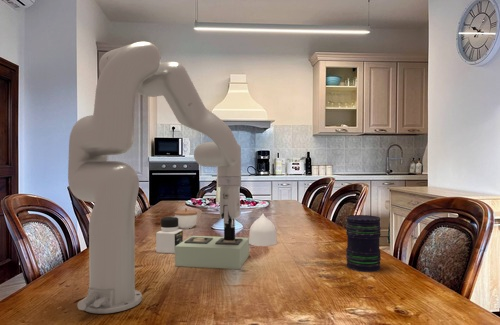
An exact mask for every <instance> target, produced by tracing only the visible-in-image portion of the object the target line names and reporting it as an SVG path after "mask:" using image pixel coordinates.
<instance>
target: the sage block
mask: <svg viewBox="0 0 500 325" xmlns="http://www.w3.org/2000/svg"><path fill="white" fill-rule="evenodd" d="M195 238H204V239H205V241H204V242H203V241H193V239H195ZM234 240H235V243H231V242H224V236H211V235H210V236H209V235H208V236H206V235H191V236H190V237H188V238H186V239H183V242H181V243H180V244H178V245H176V246H175V253H174V266H175V267H185V268H187V267H189V268H205V269H207V268H209V269H228V270H229V269H231V270H241V268H242V266H244V263H246V261H247V260H248V258H249V256H250V244H249V237H244V236H243V237H242V236H241V237H239V236H238V237H237V236H235V239H234Z"/></svg>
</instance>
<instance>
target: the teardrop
mask: <svg viewBox="0 0 500 325" xmlns="http://www.w3.org/2000/svg"><path fill="white" fill-rule="evenodd" d="M277 234H278V233H277V230H276V227H275V225H274V223H273V222H272V221H271V220H270V219H269V218H268V217H266V216H265V214H264V212H262V214H261V215H260V216H259V217H258V218H257V219H256V220H254V222H252V225H251V226H250V228H249V235H248V238H249V245H251V246H256V247H270V246H276V245H277V244H278V241H277V240H278V236H277Z"/></svg>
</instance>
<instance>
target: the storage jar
mask: <svg viewBox="0 0 500 325" xmlns="http://www.w3.org/2000/svg"><path fill="white" fill-rule="evenodd" d="M345 227H346V228H345V229H346V232H345V234H346V236H347V238H346V239H347V242H346V243H347V244H346V246H347V247H346V250H345V258H346V268H347V269H348V270H352V271H355V272H361V273H374V272H375V273H376V272H379V271H380V270H381V261H382V257H381V254H382V252H381V249H380V238H381V235H382V234H381V229H382V228H381V217H379V216H376V215H369V214H368V215H366V214H365V215H364V214H352V215H351V214H350V215H346V225H345Z"/></svg>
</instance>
